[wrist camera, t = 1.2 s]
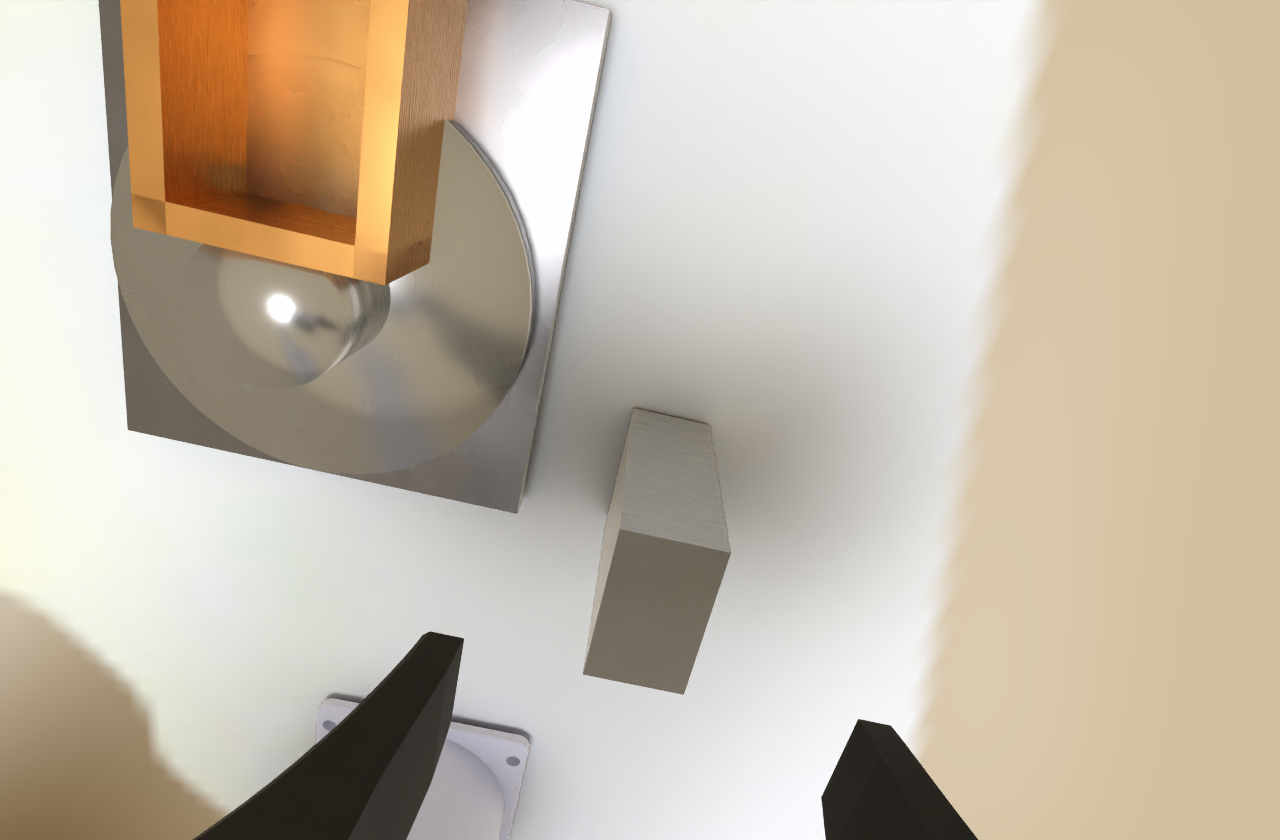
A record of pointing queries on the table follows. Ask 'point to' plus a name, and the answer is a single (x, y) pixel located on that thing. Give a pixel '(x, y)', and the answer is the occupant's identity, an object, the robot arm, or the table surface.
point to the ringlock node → (348, 226)
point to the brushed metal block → (658, 556)
